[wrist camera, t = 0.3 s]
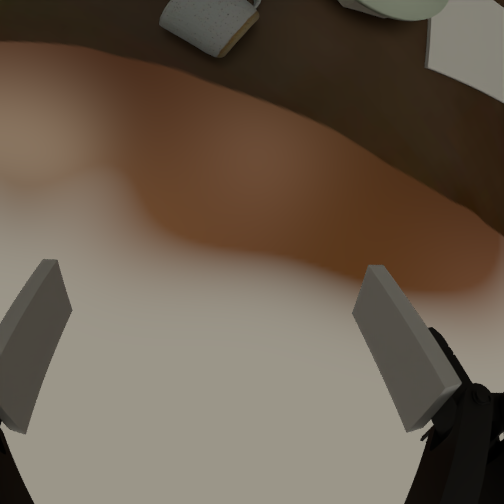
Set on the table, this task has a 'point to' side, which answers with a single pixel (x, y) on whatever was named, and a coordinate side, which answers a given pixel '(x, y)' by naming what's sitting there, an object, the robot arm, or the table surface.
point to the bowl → (358, 7)
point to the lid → (405, 8)
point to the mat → (469, 45)
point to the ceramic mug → (210, 22)
